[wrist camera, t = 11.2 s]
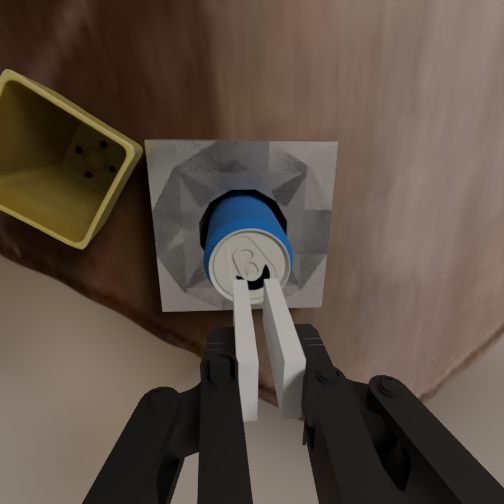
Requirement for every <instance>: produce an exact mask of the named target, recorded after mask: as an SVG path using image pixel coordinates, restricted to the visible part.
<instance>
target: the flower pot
mask: <svg viewBox="0 0 504 504" xmlns="http://www.w3.org/2000/svg"><path fill="white" fill-rule="evenodd" d="M102 141H105V142H106V143H107V147H106V148H103V147H102V146H101V142H102ZM78 146H80V147H81V148H82V150H83V151H82V152H81V153H79V152H77V150H76V148H77V147H78ZM142 152H143V149H142V147H141V146H140V145H139V144H138V143H136V142H134V141H133V140H131V139H129V138H128V137H126V136H125V135H123V134H121V133H120V132H118V131H116V130H115V129H113V128H111V127H110V126H108V125H107V124H105V123H103V122H102V121H100V120H99V119H97V118H95V117H94V116H92V115H91V114H89V113H88V112H86V111H84V110H83V109H81V108H80V107H78V106H77V105H75V104H74V103H72V102H70V101H69V100H67V99H66V98H64V97H63V96H61V95H60V94H58V93H57V92H55V91H53V90H51V89H49V88H47V87H45V86H43V85H41V84H39V83H37V82H35V81H33V80H31V79H29V78H27V77H25V76H23V75H21V74H18V73H16V72H14V71H12V70H8V69H6V70H4V71H3V73H2V74H1V76H0V210H1V211H3V212H5V213H7V214H9V215H11V216H13V217H15V218H17V219H19V220H21V221H23V222H25V223H27V224H29V225H31V226H33V227H35V228H37V229H39V230H41V231H43V232H44V233H46V234H48V235H50V236H52V237H54V238H56V239H58V240H60V241H62V242H64V243H66V244H67V245H70V246H72V247H75V248H78V249H84V248H85V247H86V246H87V245H88V244H89V242H90V241H91V240H92V239H93V238H94V236H95V235H96V234H97V233H98V231H99V230H100V229H101V228H102V226H103V225H104V224H105V222H106V220H107V219H108V217H109V215H110V213H111V211H112V209H113V207H114V205H115V203H116V201H117V199H118V197H119V195H120V193H121V191H122V190H123V188H124V186H125V184H126V182H127V180H128V178H129V177H130V175H131V173H132V171H133V169H134V168H135V166H136V164H137V162H138V160H139V159H140V157H141V155H142ZM111 166H113V167H115V169H116V171H115V172H111V171H110V169H109V168H110V167H111ZM86 172H91V173H92V177H90V178H89V177H87V176H86Z"/></svg>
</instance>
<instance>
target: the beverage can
mask: <svg viewBox="0 0 504 504" xmlns="http://www.w3.org/2000/svg"><path fill="white" fill-rule="evenodd" d="M203 263H204V269H205V273H206V275H207V278H208V279H209V281H210V283H211V284H212V285H213V287H214V288H215V289H216V290H217V291H218V292H219V293H220V294H221V295H222V296H224V297H225V298H227V299H228V300H230V301H233V280H247V284H248V291H249V298H250V304H258V303H262V302H263V294H264V279H278V281H279V284H280V287H281V289H282V288H283V287H284V285H285V284H286V282H287V280H288V277H289V274H290V272H291V269H292V264H293V252H292V248H291V244H290V242H289V240H288V238H287V236H286V235H285V233H284V231H283V229H282V228H281V226H280V224H279V222H278V221H277V219H276V217H275V215H274V214H273V212H272V210H271V208H270V207H269V205H268V204H267V203H266V202H265V201H264V200H263V199H262V198H261V197H259V196H257V195H255V194H253V193H249V192H236V193H232V194H229V195H227V196H225V197H224V198H222V199H221V200H220V201H219V202H218V203H217V204H216V206H215V207H214V209H213V211H212V214H211V217H210V223H209V229H208V234H207V240H206V245H205V251H204V258H203Z"/></svg>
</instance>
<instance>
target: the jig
mask: <svg viewBox="0 0 504 504" xmlns="http://www.w3.org/2000/svg"><path fill="white" fill-rule="evenodd" d="M145 149H146V159H147V168H148V178H149V187H150V197H151V206H152V216H153V225H154V235H155V244H156V254H157V263H158V273H159V283H160V292H161V302H162V311H163V312H176V311H208V310H233V301H230V300H228V299H227V298H225V297H224V296H222V295H221V294H220V293H219V292H218V291H217V290H216V289H215V288H214V287H213V285H212V284H211V283H210V281H209V279H208V278H207V275H206V273H205V269H204V263H203V258H204V251H205V245H206V240H207V237H206V236H205V234H204V233H203V221H202V216H203V214H204V212H205V211H206V209H207V207H208V205H209V203H210V202H211V201H213V200H214V199H216V198H218V197H220V196H221V195H223V194H225V193H226V192H228V191H230V190H257V191H259V192H261V193H263V194H264V195H266V196H268V197H269V198H271V199H273V200H275V202H276V204H277V206H278V208H279V210H280V226H281V228H282V229H283V231H284V233H285V235H286V236H287V238H288V240H289V242H290V244H291V248H292V252H293V264H292V269H291V272H290V274H289V277H288V280H287V282H286V284H285V285H284V287H283V288H282V289H281V290H282V293H283V295H284V298H285V301H286V304H287V307H288V308H304V307H322V297H323V287H324V277H325V268H326V258H327V248H328V238H329V228H330V218H331V209H332V199H333V189H334V179H335V169H336V159H337V149H338V142H336V141H326V140H226V139H150V140H145ZM250 305H251V309H263V302H262V303H258V304H250Z"/></svg>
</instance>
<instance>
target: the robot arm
mask: <svg viewBox="0 0 504 504" xmlns="http://www.w3.org/2000/svg"><path fill="white" fill-rule="evenodd" d="M233 325H234V327H224V328H212V330H211V331H210V332H209V334H208V335H207V346H206V356H205V357H204V358H203V359H202V360H201V364H200V371H201V372H200V373H201V382H200V383H199V384H198V385H197V386H195V387H194V388H192V389H190V390H188V391H185V392H182V393H178V392H177V391H176V390H175V389H174V388H170V387H158V388H155V389H152V390H150V391H149V392H148V393H146V394H145V395H144V396H143V397H142V398H141V400H140V401H139V403H138V405H137V407H136V408H135V410H134V412H133V414H132V415H131V417H130V419H129V421H128V423H127V424H126V426H125V428H124V430H123V431H122V433H121V435H120V437H119V439H118V441H117V442H116V444H115V446H114V448H113V450H112V451H111V453H110V455H109V457H108V458H107V460H106V462H105V464H104V466H103V467H102V469H101V471H100V472H99V474H98V476H97V478H96V480H95V481H94V483H93V485H92V487H91V489H90V490H89V492H88V494H87V496H86V497H85V499H84V501H83V503H82V504H170V503H171V499H172V496H173V493H174V490H175V487H176V484H177V481H178V478H179V475H180V472H181V469H182V466H183V462H184V459H185V457H187V456H189V455H192V454H194V453H197V452H199V468H198V499H197V504H253V501H252V492H251V483H250V475H249V466H248V457H247V449H246V440H245V432H244V423H243V422H244V421H257V405H258V401H257V400H258V356H257V349H256V341H255V334H254V327H253V320H252V313H251V305H250V298H249V291H248V284H247V280H233ZM263 326H264V331H265V336H266V342H267V347H268V352H269V357H270V363H271V368H272V373H273V378H274V384H275V389H276V394H277V399H278V405H279V410H280V415H281V419H293V418H294V419H296V418H301V412H302V410H303V414H304V418H305V421H304V432H303V445H306V442H307V447H308V452H309V457H310V462H311V467H312V472H313V476H314V481H315V486H316V491H317V496H318V501H319V504H504V488H503V487H502V486H501V485H500V484H499V483H498V482H497V481H496V479H495V478H494V477H493V476H492V475H491V474H490V473H489V472H488V471H487V470H486V469H485V468H484V467H483V466H482V465H481V464H480V463H479V462H478V461H477V460H476V459H475V458H474V457H473V456H472V455H471V453H470V452H469V451H468V450H466V448H465V447H464V446H463V445H462V444H461V443H460V442H459V441H458V440H457V439H456V438H455V437H454V436H453V435H452V434H451V433H450V432H449V431H448V430H447V429H446V427H444V425H443V424H442V423H441V422H440V421H439V420H438V419H437V418H436V417H435V416H434V415H433V414H432V413H431V412H430V411H429V410H428V409H427V408H426V407H425V406H424V405H423V404H422V402H421V401H420V400H419V399H418V398H417V397H416V396H415V395H414V394H413V393H412V392H411V391H410V390H409V389H408V388H407V387H406V386H405V385H404V384H403V383H402V382H400V381H399V380H397V379H395V378H393V377H390V376H385V375H377V376H375V377H372V378H371V380H370V381H369V384H365V383H360V382H355V381H352V380H349V379H347V378H345V376H344V374H343V373H342V372H341V371H340V370H339V369H337V368H336V367H334V366H333V364H332V362H331V360H330V357H329V355H328V353H327V351H326V349H325V347H324V345H323V342H322V340H321V339H320V336H319V333H318V331H317V330H316V329H315V328H314V327H313V326H312V325H311V324H293V321H292V318H291V316H290V313H289V310H288V307H287V304H286V301H285V298H284V295H283V293H282V290H281V287H280V284H279V281H278V279H264V294H263Z"/></svg>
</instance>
